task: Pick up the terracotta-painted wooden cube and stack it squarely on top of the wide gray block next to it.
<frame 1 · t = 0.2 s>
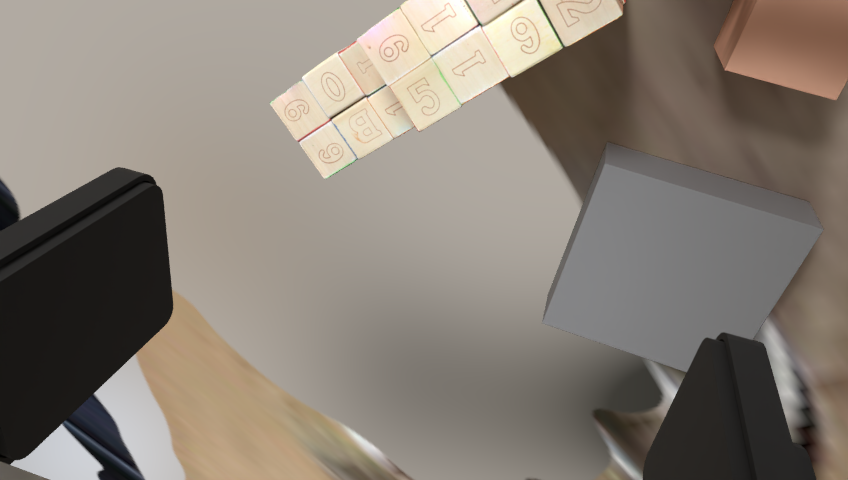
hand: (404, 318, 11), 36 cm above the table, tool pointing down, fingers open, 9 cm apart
terracotta cube: (785, 9, 38), on the table
gray block: (665, 252, 48), on the table
stack of blocks: (462, 25, 44), on the table
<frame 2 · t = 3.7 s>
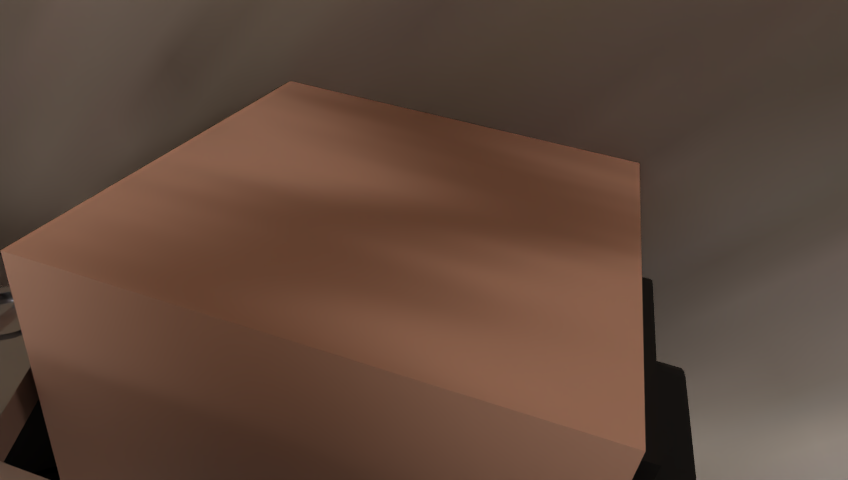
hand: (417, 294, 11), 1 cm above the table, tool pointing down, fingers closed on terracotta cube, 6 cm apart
terracotta cube: (430, 268, 12), on the table, touching gripper
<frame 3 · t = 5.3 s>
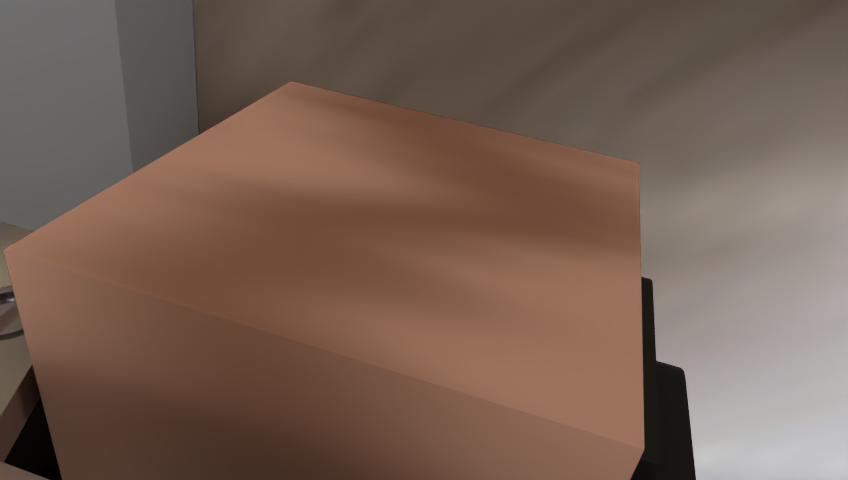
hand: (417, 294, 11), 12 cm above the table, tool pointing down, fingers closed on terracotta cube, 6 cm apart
terracotta cube: (430, 267, 12), point 11 cm above the table, touching gripper
gray block: (28, 10, 24), on the table
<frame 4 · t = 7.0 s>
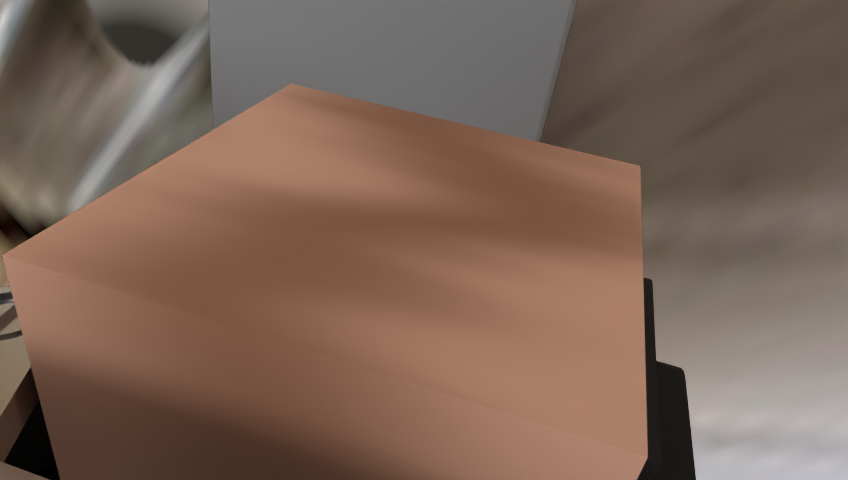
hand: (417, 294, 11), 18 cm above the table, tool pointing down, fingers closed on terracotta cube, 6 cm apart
terracotta cube: (431, 270, 12), point 17 cm above the table, touching gripper
gray block: (404, 18, 27), on the table
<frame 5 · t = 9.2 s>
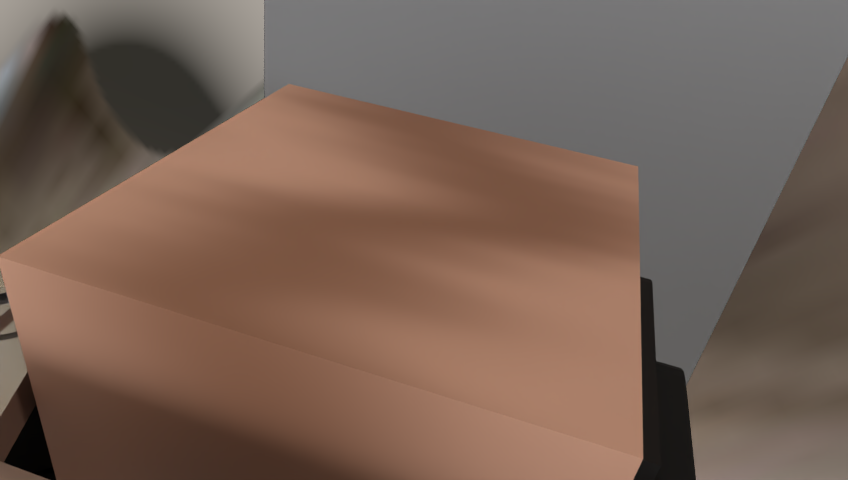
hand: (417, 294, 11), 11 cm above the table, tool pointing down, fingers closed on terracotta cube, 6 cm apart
terracotta cube: (429, 271, 12), point 10 cm above the table, touching gripper
gray block: (521, 107, 20), on the table
when the fingers open (6 cm above the table, at t = 10.8 s): terracotta cube drops 1 cm, resting on gray block.
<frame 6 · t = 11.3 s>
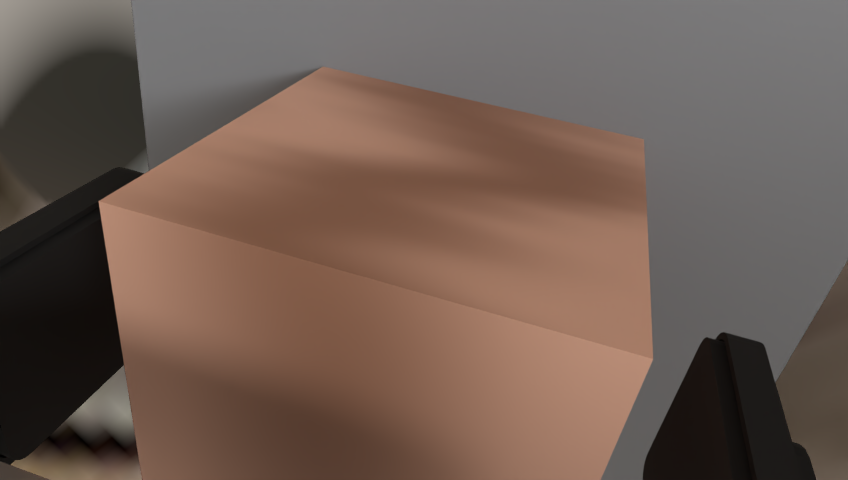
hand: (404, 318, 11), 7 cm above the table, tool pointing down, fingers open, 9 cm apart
terracotta cube: (450, 240, 13), point 4 cm above the table, touching gray block
gray block: (484, 166, 16), on the table
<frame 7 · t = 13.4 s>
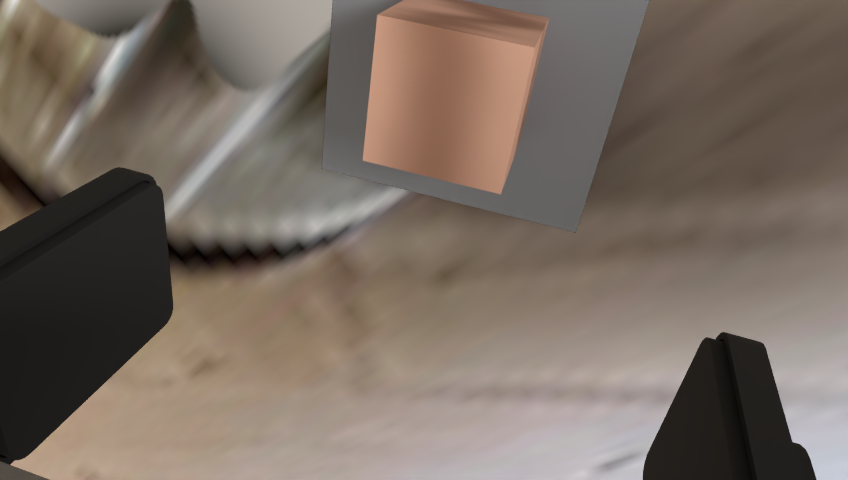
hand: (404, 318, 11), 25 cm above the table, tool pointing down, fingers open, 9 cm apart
terracotta cube: (470, 70, 30), point 4 cm above the table, touching gray block
gray block: (483, 51, 33), on the table
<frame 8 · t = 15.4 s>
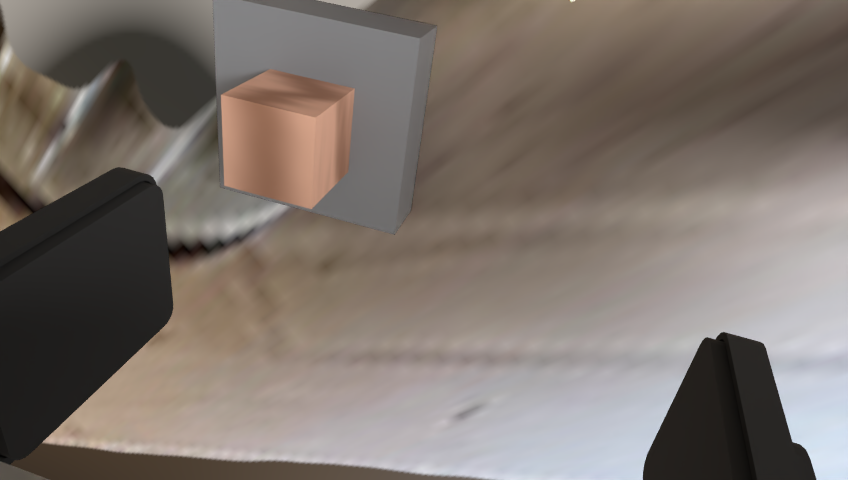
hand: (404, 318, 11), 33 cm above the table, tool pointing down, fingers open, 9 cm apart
terracotta cube: (310, 121, 43), point 4 cm above the table, touching gray block
gray block: (332, 103, 46), on the table
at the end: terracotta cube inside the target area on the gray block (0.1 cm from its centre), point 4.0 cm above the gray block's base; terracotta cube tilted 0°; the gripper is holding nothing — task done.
